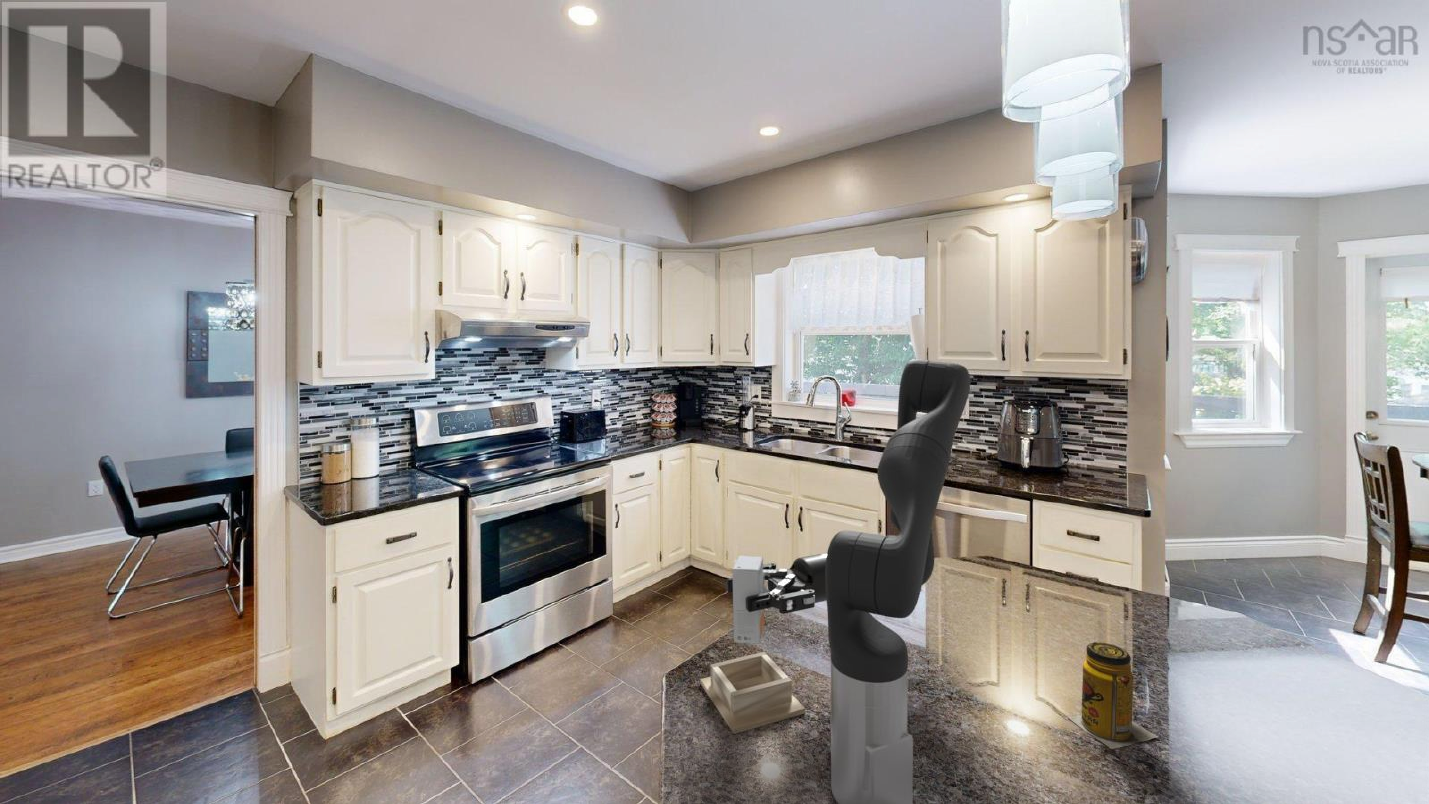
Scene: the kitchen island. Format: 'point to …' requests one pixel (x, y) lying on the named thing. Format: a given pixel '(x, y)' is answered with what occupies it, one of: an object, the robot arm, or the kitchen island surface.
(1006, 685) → the kitchen island surface
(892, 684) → the robot arm
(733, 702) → the block
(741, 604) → the skincare box
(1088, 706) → the condiment
